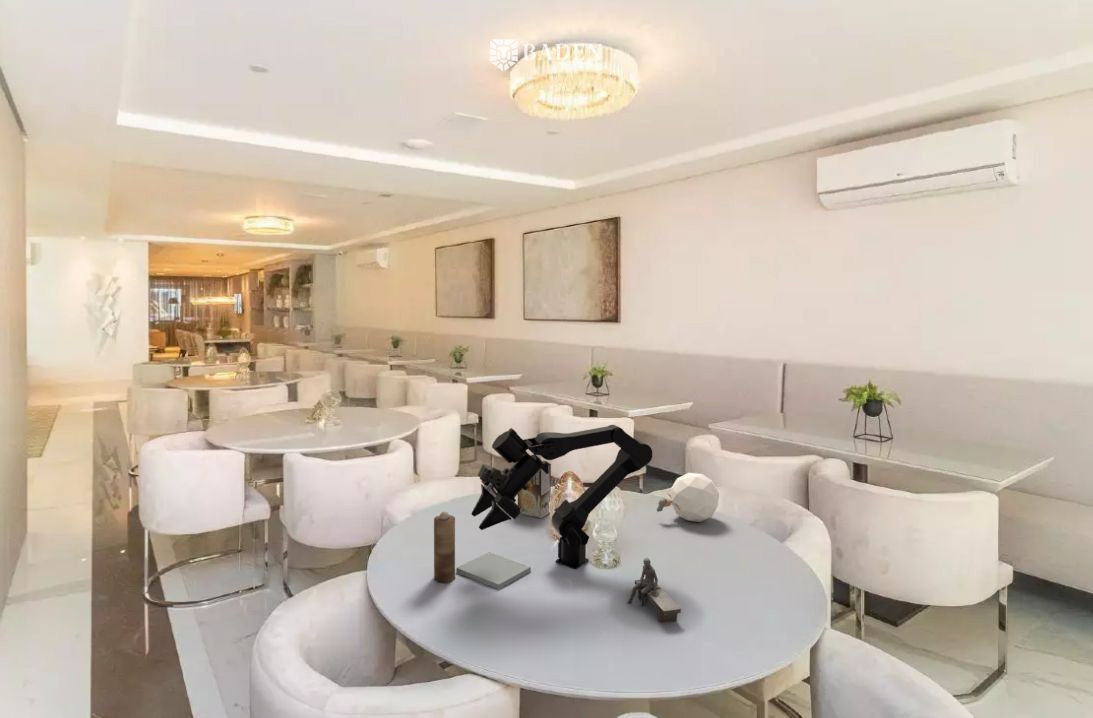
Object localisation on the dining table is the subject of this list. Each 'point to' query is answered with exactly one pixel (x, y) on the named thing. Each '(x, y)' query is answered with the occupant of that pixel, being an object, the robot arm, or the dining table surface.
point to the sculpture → (654, 594)
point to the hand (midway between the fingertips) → (476, 521)
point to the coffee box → (536, 495)
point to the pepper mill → (444, 548)
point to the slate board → (493, 570)
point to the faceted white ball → (692, 497)
